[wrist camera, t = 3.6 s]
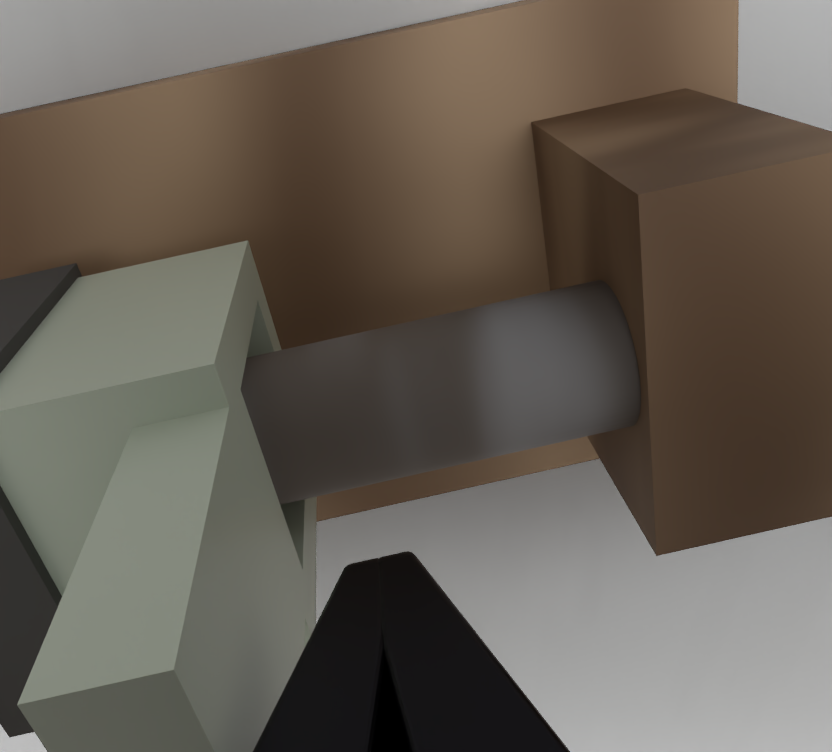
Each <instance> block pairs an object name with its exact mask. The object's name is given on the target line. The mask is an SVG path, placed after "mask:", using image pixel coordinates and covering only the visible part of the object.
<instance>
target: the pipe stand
mask: <svg viewBox="0 0 832 752" xmlns="http://www.w3.org/2000/svg"><path fill="white" fill-rule="evenodd" d="M737 87H738V0H524V1H519V2H515V3H510V4H505V5H501V6H496V7H492V8H487V9H482V10H478V11H473V12H469V13H464V14H459V15H455V16H450V17H446V18H441V19H436V20H432V21H427V22H423V23H418V24H413V25H409V26H404V27H400V28H395V29H390V30H386V31H381V32H377V33H372V34H367V35H363V36H358V37H353V38H349V39H344V40H340V41H335V42H330V43H326V44H321V45H317V46H312V47H307V48H303V49H298V50H294V51H289V52H284V53H280V54H275V55H271V56H266V57H261V58H257V59H252V60H248V61H243V62H238V63H234V64H229V65H224V66H220V67H215V68H211V69H206V70H201V71H197V72H192V73H188V74H183V75H178V76H174V77H169V78H165V79H160V80H155V81H151V82H146V83H142V84H137V85H132V86H128V87H123V88H119V89H114V90H109V91H105V92H100V93H96V94H91V95H86V96H82V97H77V98H72V99H68V100H63V101H59V102H54V103H49V104H45V105H40V106H36V107H31V108H26V109H22V110H17V111H13V112H8V113H3V114H0V280H1V279H6V278H11V277H15V276H20V275H24V274H29V273H33V272H38V271H43V270H47V269H52V268H56V267H61V266H65V265H70V264H74V263H77V265H78V268H79V270H80V272H81V275H82V277H83V276H88V275H92V274H97V273H101V272H106V271H110V270H115V269H120V268H124V267H129V266H133V265H138V264H142V263H147V262H151V261H156V260H161V259H165V258H170V257H174V256H179V255H183V254H188V253H192V252H197V251H202V250H206V249H211V248H215V247H220V246H224V245H229V244H233V243H238V242H243V241H247V240H248V242H249V245H250V248H251V252H252V255H253V258H254V261H255V265H256V268H257V271H258V274H259V278H260V281H261V284H262V287H263V291H264V294H265V297H266V301H267V304H268V307H269V310H270V314H271V317H272V320H273V323H274V327H275V330H276V333H277V336H278V340H279V343H280V346H281V349H282V350H279V351H275V352H270V353H266V354H261V355H256V356H252V357H247V358H246V363H245V368H244V374H243V379H242V384H241V389H240V390H241V393H242V396H243V398H244V401H245V404H246V407H247V410H248V413H249V416H250V419H251V422H252V425H253V427H254V430H255V433H256V436H257V439H258V442H259V445H260V448H261V451H262V454H263V456H264V459H265V462H266V465H267V468H268V471H269V474H270V477H271V480H272V482H273V485H274V488H275V491H276V494H277V497H278V500H279V503H280V505H281V504H285V503H290V502H294V501H299V500H303V499H308V498H312V497H317V507H316V522H317V521H321V520H326V519H330V518H335V517H339V516H344V515H348V514H353V513H357V512H362V511H366V510H371V509H375V508H379V507H384V506H388V505H393V504H397V503H402V502H406V501H411V500H415V499H420V498H424V497H429V496H433V495H438V494H442V493H447V492H451V491H456V490H460V489H465V488H469V487H474V486H478V485H482V484H487V483H491V482H496V481H500V480H505V479H509V478H514V477H518V476H523V475H527V474H532V473H536V472H541V471H545V470H550V469H554V468H559V467H563V466H568V465H572V464H576V463H581V462H585V461H590V460H594V459H599V458H600V460H601V461H602V463H603V465H604V466H605V468H606V470H607V472H608V473H609V475H610V477H611V479H612V480H613V482H614V484H615V485H616V487H617V489H618V491H619V492H620V494H621V496H622V497H623V499H624V501H625V503H626V504H627V506H628V508H629V509H630V511H631V513H632V515H633V516H634V518H635V520H636V521H637V523H638V525H639V527H640V528H641V530H642V532H643V533H644V535H645V537H646V539H647V540H648V542H649V544H650V545H651V547H652V549H653V551H654V552H655V554H656V556H658V555H662V554H667V553H671V552H676V551H680V550H684V549H689V548H693V547H698V546H702V545H707V544H711V543H716V542H720V541H725V540H729V539H733V538H738V537H742V536H747V535H751V534H756V533H760V532H765V531H769V530H773V529H778V528H782V527H787V526H791V525H796V524H800V523H805V522H809V521H813V520H818V519H822V518H827V517H831V516H832V132H831V131H828V130H824V129H821V128H818V127H814V126H811V125H808V124H804V123H801V122H798V121H794V120H791V119H788V118H784V117H781V116H778V115H774V114H771V113H768V112H764V111H761V110H758V109H754V108H751V107H748V106H744V105H741V104H738V103H737Z"/></svg>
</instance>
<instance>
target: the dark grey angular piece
mask: <svg viewBox="0 0 832 752" xmlns="http://www.w3.org/2000/svg"><path fill="white" fill-rule="evenodd" d="M79 277H82V275H81V272H80V270H79V268H78V265H77V263H74V264H70V265H65V266H61V267H56V268H52V269H47V270H43V271H38V272H33V273H29V274H24V275H20V276H15V277H11V278H6V279H1V280H0V373H1V372H2V371H3V369H4V368H5V367H6V366H7V365H8V363H9V362H10V361H11V360H12V358H13V357H14V356H15V355H16V353H17V352H18V351H19V350H20V348H21V347H22V346H23V345H24V344H25V342H26V341H27V340H28V339H29V337H30V336H31V335H32V334H33V332H34V331H35V330H36V329H37V327H38V326H39V325H40V324H41V323H42V321H43V320H44V319H45V318H46V316H47V315H48V314H49V313H50V311H51V310H52V309H53V308H54V306H55V305H56V304H57V303H58V302H59V300H60V299H61V298H62V297H63V295H64V294H65V293H66V292H67V290H68V289H69V288H70V287H71V285H72V284H73V283H74V282H75V281H76V279H77V278H79ZM61 598H62V595H61V594H60V592H59V590H58V588H57V586H56V585H55V583H54V581H53V579H52V577H51V576H50V574H49V572H48V570H47V568H46V567H45V565H44V563H43V561H42V559H41V558H40V556H39V554H38V552H37V550H36V549H35V547H34V545H33V543H32V541H31V540H30V538H29V536H28V534H27V532H26V531H25V529H24V527H23V525H22V523H21V522H20V520H19V518H18V516H17V514H16V513H15V511H14V509H13V507H12V505H11V504H10V502H9V500H8V498H7V497H6V495H5V493H4V491H3V489H2V488H1V486H0V724H1V725H2V727H3V728H4V730H5V731H6V733H7V734H8V736H9V737H13V736H17V735H22V734H26V733H31V732H34V730H33V729H32V727H31V725H30V724H29V722H28V721H27V719H26V718H25V716H24V715H23V713H22V712H21V710H20V709H19V707H18V706H17V704H18V701H19V699H20V697H21V694H22V692H23V689H24V687H25V685H26V682H27V680H28V677H29V675H30V673H31V670H32V668H33V665H34V663H35V661H36V658H37V656H38V653H39V651H40V649H41V646H42V644H43V641H44V639H45V637H46V634H47V632H48V629H49V627H50V625H51V622H52V620H53V617H54V615H55V613H56V610H57V608H58V605H59V603H60V601H61Z"/></svg>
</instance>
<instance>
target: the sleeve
mask: <svg viewBox="0 0 832 752" xmlns="http://www.w3.org/2000/svg"><path fill="white" fill-rule="evenodd" d="M279 350H282V349H281V346H280V343H279V340H278V336H277V333H276V330H275V327H274V323H273V320H272V317H271V314H270V310H269V307H268V304H267V301H266V297H265V294H264V291H263V287H262V284H261V281H260V278H259V274H258V271H257V268H256V265H255V261H254V258H253V255H252V252H251V248H250V245H249V242H248V240H247V241H243V242H238V243H233V244H229V245H224V246H220V247H215V248H211V249H206V250H202V251H197V252H192V253H188V254H183V255H179V256H174V257H170V258H165V259H161V260H156V261H151V262H147V263H142V264H138V265H133V266H129V267H124V268H120V269H115V270H110V271H106V272H101V273H97V274H92V275H88V276H83V277H79V278H77V279H76V281H75V282H74V283H73V284H72V285H71V287H70V288H69V289H68V290H67V292H66V293H65V294H64V295H63V297H62V298H61V299H60V300H59V302H58V303H57V304H56V305H55V306H54V308H53V309H52V310H51V311H50V313H49V314H48V315H47V316H46V318H45V319H44V320H43V321H42V323H41V324H40V325H39V326H38V327H37V329H36V330H35V331H34V332H33V334H32V335H31V336H30V337H29V339H28V340H27V341H26V342H25V344H24V345H23V346H22V347H21V348H20V350H19V351H18V352H17V353H16V355H15V356H14V357H13V358H12V360H11V361H10V362H9V363H8V365H7V366H6V367H5V368H4V369H3V371H2V372H1V373H0V486H1V488H2V489H3V491H4V493H5V495H6V497H7V498H8V500H9V502H10V504H11V505H12V507H13V509H14V511H15V513H16V514H17V516H18V518H19V520H20V522H21V523H22V525H23V527H24V529H25V531H26V532H27V534H28V536H29V538H30V540H31V541H32V543H33V545H34V547H35V549H36V550H37V552H38V554H39V556H40V558H41V559H42V561H43V563H44V565H45V567H46V568H47V570H48V572H49V574H50V576H51V577H52V579H53V581H54V583H55V585H56V586H57V588H58V590H59V592H60V594H61V595H62V598H61V601H60V603H59V605H58V608H57V610H56V613H55V615H54V617H53V620H52V622H51V625H50V627H49V629H48V632H47V634H46V637H45V639H44V641H43V644H42V646H41V649H40V651H39V653H38V656H37V658H36V661H35V663H34V665H33V668H32V670H31V673H30V675H29V677H28V680H27V682H26V685H25V687H24V689H23V692H22V694H21V697H20V699H19V701H18V704H17V706H18V707H19V709H20V710H21V712H22V713H23V715H24V716H25V718H26V719H27V721H28V722H29V724H30V725H31V727H32V729H33V730H34V732H35V733H36V735H37V736H38V738H39V739H40V741H41V742H42V744H43V745H44V747H45V748H46V750H47V751H48V752H253V750H254V748H255V746H256V744H257V742H258V740H259V738H260V736H261V734H262V732H263V730H264V728H265V726H266V724H267V722H268V720H269V718H270V716H271V714H272V712H273V710H274V708H275V706H276V704H277V702H278V700H279V698H280V696H281V694H282V692H283V690H284V688H285V686H286V684H287V682H288V680H289V678H290V676H291V674H292V672H293V670H294V668H295V666H296V664H297V662H298V660H299V658H300V656H301V654H302V652H303V650H304V648H305V646H306V644H307V642H308V640H309V638H310V636H311V634H312V632H313V630H314V628H315V626H316V507H317V497H312V498H308V499H303V500H299V501H294V502H290V503H285V504H281V505H280V503H279V500H278V497H277V494H276V491H275V488H274V485H273V482H272V480H271V477H270V474H269V471H268V468H267V465H266V462H265V459H264V456H263V454H262V451H261V448H260V445H259V442H258V439H257V436H256V433H255V430H254V427H253V425H252V422H251V419H250V416H249V413H248V410H247V407H246V404H245V401H244V398H243V396H242V393H241V390H240V389H241V384H242V379H243V374H244V368H245V363H246V358H247V357H252V356H256V355H261V354H266V353H270V352H275V351H279Z"/></svg>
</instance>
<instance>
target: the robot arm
mask: <svg viewBox="0 0 832 752" xmlns="http://www.w3.org/2000/svg"><path fill="white" fill-rule="evenodd" d="M253 752H570V751H569V750H568V748H567V747H566V746H565V745H564V743H563V742H562V741H561V739H560V738H559V737H558V736H557V734H556V733H555V732H554V731H553V729H552V728H551V727H550V726H549V724H548V723H547V722H546V720H545V719H544V718H543V717H542V715H541V714H540V713H539V712H538V710H537V709H536V708H535V707H534V705H533V704H532V703H531V701H530V700H529V699H528V698H527V696H526V695H525V694H524V693H523V691H522V690H521V689H520V688H519V686H518V685H517V684H516V682H515V681H514V680H513V679H512V677H511V676H510V675H509V674H508V672H507V671H506V670H505V669H504V667H503V666H502V665H501V663H500V662H499V661H498V660H497V658H496V657H495V656H494V655H493V653H492V652H491V651H490V650H489V648H488V647H487V646H486V644H485V643H484V642H483V641H482V639H481V638H480V637H479V636H478V634H477V633H476V632H475V631H474V629H473V628H472V627H471V625H470V624H469V623H468V622H467V620H466V619H465V618H464V617H463V615H462V614H461V613H460V612H459V610H458V609H457V608H456V606H455V605H454V604H453V603H452V601H451V600H450V599H449V598H448V596H447V595H446V594H445V593H444V591H443V590H442V589H441V587H440V586H439V585H438V584H437V582H436V581H435V580H434V579H433V577H432V576H431V575H430V574H429V572H428V571H427V570H426V568H425V567H424V566H423V565H422V563H421V562H420V561H419V560H418V558H417V557H416V556H415V555H414V554H413V553H412V552H402V553H398V554H393V555H389V556H384V557H381V558H379V559H378V558H375V559H371V560H366V561H362V562H357V563H353V564H350V565H347V566H346V567H345V568H344V570H343V572H342V574H341V576H340V578H339V580H338V582H337V584H336V586H335V588H334V590H333V592H332V594H331V596H330V598H329V600H328V602H327V604H326V606H325V608H324V610H323V612H322V614H321V616H320V618H319V620H318V622H317V624H316V626H315V628H314V630H313V632H312V634H311V636H310V638H309V640H308V642H307V644H306V646H305V648H304V650H303V652H302V654H301V656H300V658H299V660H298V662H297V664H296V666H295V668H294V670H293V672H292V674H291V676H290V678H289V680H288V682H287V684H286V686H285V688H284V690H283V692H282V694H281V696H280V698H279V700H278V702H277V704H276V706H275V708H274V710H273V712H272V714H271V716H270V718H269V720H268V722H267V724H266V726H265V728H264V730H263V732H262V734H261V736H260V738H259V740H258V742H257V744H256V746H255V748H254V750H253Z"/></svg>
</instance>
